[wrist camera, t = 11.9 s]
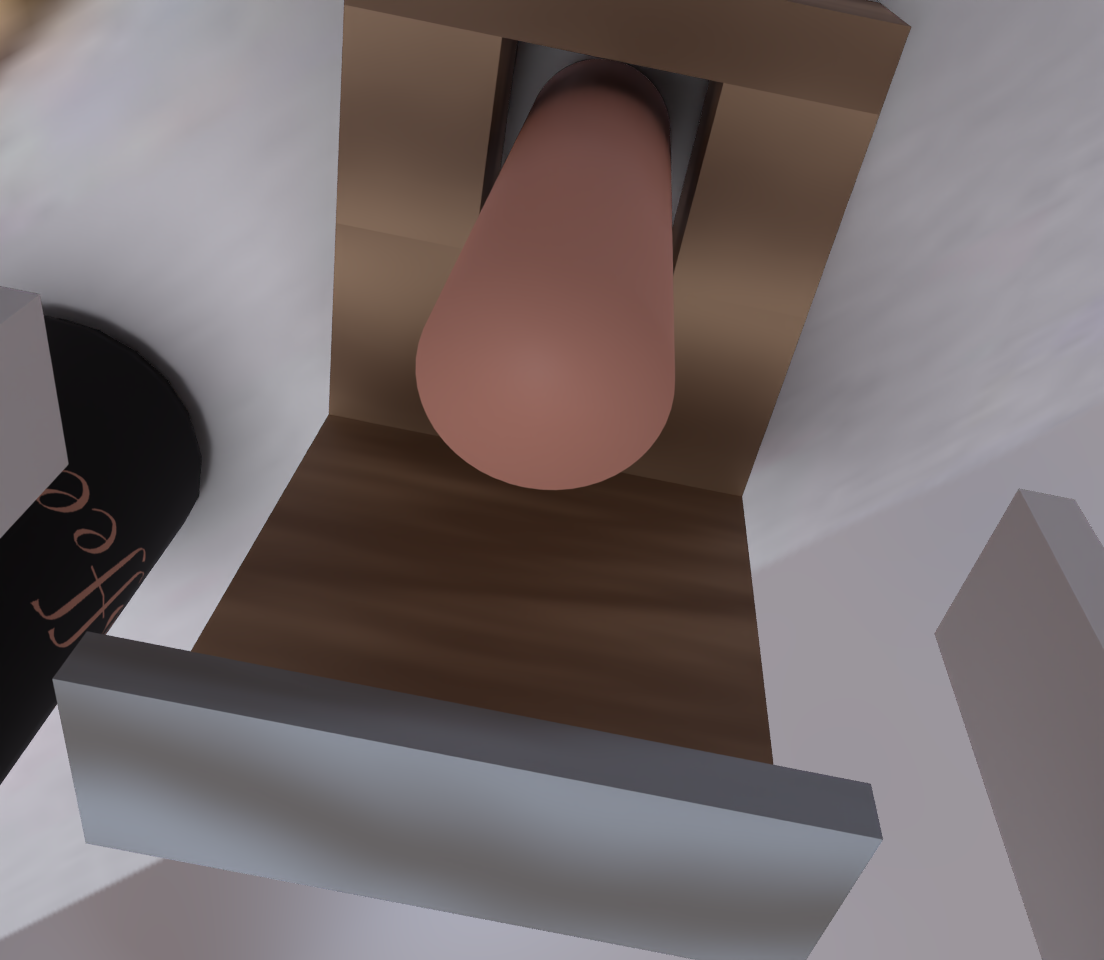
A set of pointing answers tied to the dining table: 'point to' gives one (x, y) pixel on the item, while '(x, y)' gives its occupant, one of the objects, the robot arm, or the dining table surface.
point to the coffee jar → (89, 518)
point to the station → (521, 539)
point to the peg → (563, 293)
